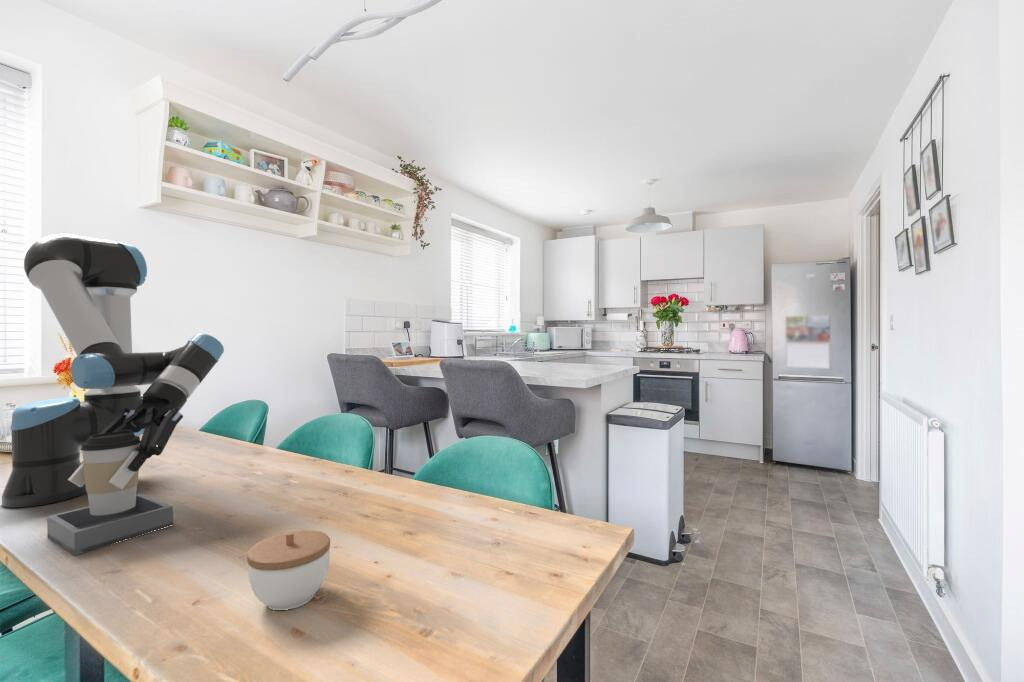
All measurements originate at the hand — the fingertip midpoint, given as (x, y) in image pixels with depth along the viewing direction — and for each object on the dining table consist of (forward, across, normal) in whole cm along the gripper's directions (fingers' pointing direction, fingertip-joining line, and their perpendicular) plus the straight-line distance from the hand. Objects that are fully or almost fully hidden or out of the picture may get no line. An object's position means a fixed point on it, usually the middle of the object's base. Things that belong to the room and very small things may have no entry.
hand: (95, 484), depth 89 cm
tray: (+5, 0, -10) cm, 11 cm away
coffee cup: (+2, 0, -6) cm, 7 cm away
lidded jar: (+16, -51, 0) cm, 53 cm away
